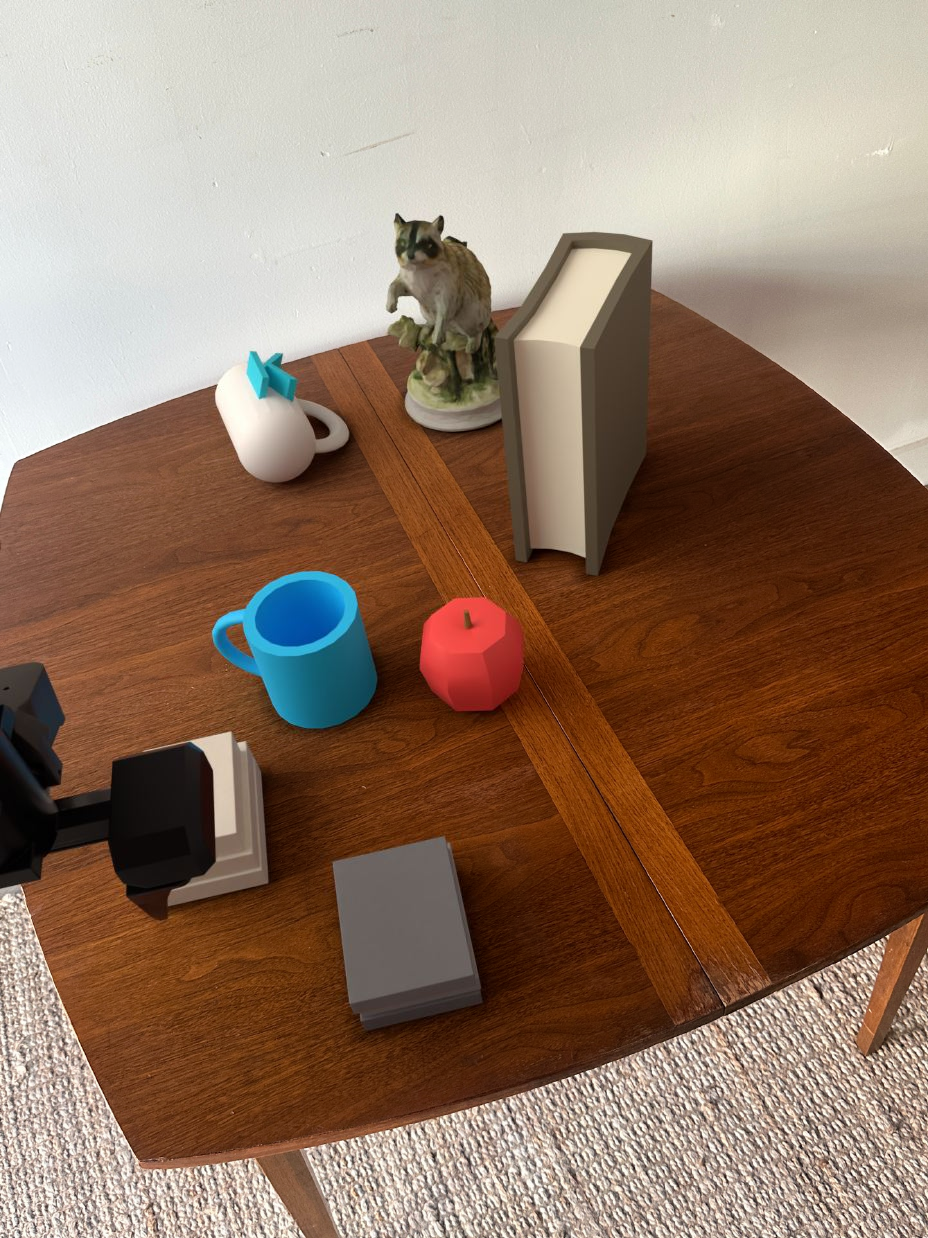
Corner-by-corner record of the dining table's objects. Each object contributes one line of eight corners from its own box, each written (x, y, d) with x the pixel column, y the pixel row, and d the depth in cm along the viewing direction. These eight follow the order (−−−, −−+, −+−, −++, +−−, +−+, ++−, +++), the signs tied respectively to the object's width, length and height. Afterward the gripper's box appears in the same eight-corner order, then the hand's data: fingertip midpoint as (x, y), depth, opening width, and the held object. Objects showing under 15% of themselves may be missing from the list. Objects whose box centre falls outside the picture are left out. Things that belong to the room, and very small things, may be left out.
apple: (452, 633, 79) (439, 559, 74) (547, 660, 77) (542, 586, 71) (405, 709, 75) (388, 637, 69) (504, 741, 72) (495, 669, 66)
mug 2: (390, 650, 79) (372, 576, 73) (358, 735, 74) (336, 663, 68) (248, 634, 82) (220, 561, 76) (208, 714, 77) (174, 643, 71)
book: (573, 442, 94) (565, 223, 79) (647, 453, 92) (654, 230, 76) (515, 560, 84) (493, 337, 69) (597, 575, 82) (594, 348, 67)
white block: (246, 851, 64) (236, 832, 62) (151, 872, 64) (139, 855, 62) (240, 750, 69) (231, 730, 68) (153, 769, 69) (142, 750, 68)
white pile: (268, 883, 66) (254, 855, 64) (160, 908, 66) (141, 881, 63) (260, 769, 73) (247, 740, 70) (162, 791, 72) (145, 762, 70)
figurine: (385, 433, 98) (345, 236, 83) (430, 355, 106) (401, 163, 92) (500, 446, 95) (479, 243, 80) (537, 364, 103) (524, 167, 89)
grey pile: (485, 1006, 59) (477, 973, 56) (364, 1035, 59) (349, 1004, 56) (455, 865, 66) (447, 829, 62) (345, 891, 65) (331, 855, 62)
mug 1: (254, 405, 86) (222, 339, 94) (239, 495, 91) (210, 425, 99) (383, 412, 91) (342, 348, 99) (362, 496, 97) (325, 429, 105)
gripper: (158, 570, 47) (247, 765, 58) (-255, 658, 46) (-81, 838, 57) (155, 766, 39) (258, 945, 50) (-340, 876, 38) (-121, 1034, 49)
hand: (75, 932), depth 52 cm, fingers open, 9 cm apart
